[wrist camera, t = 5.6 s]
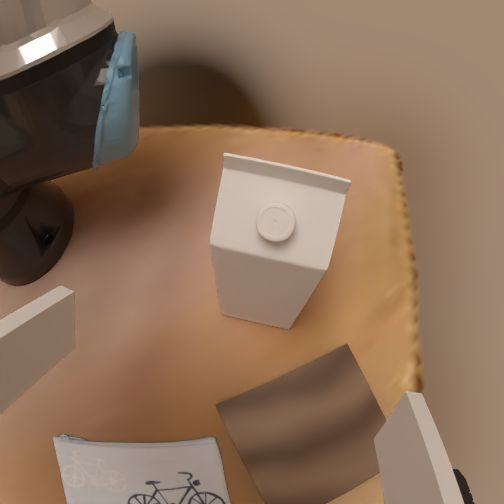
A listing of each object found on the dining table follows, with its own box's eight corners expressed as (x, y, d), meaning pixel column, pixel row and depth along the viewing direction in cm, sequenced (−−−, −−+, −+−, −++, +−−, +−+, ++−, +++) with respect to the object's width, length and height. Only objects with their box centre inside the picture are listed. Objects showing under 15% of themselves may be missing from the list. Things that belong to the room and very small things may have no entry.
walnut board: (216, 404, 28) (215, 404, 26) (342, 346, 31) (347, 343, 30) (276, 520, 22) (278, 525, 21) (396, 454, 25) (403, 456, 24)
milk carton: (237, 254, 35) (239, 115, 18) (300, 268, 35) (352, 140, 18) (220, 314, 32) (202, 204, 15) (288, 330, 32) (347, 236, 15)
